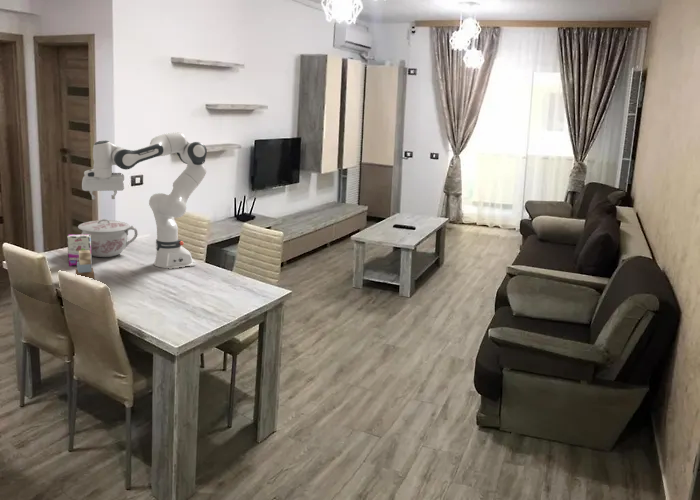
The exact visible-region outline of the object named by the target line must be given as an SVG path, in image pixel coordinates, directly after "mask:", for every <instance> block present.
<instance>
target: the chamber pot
mask: <svg viewBox="0 0 700 500" xmlns="http://www.w3.org/2000/svg"><path fill="white" fill-rule="evenodd" d="M77 228H78V229H79V230H81V234H80V235H91V254H92V256H93V257H96V258H113V257H115V256H116V257H117V256H119V255H120V254H121V253H122V252H123V250H125V249H126V247H128V246H129V245H130V244H132V243H133V242H134V241H135V240H136V239H137V238H138V235H139V234H138V229H137V228H136V227H135V226H134V225H131V226H130V224H129V223H127V222H123V221H119V220H111V219H107V218H106V219H105V218H102V219H100V220H90V221H86V222H83V223H80V224H78V226H77ZM131 230H132V231H134V235H133V237H132V238H131V239H130V240H128V235H129V231H131Z"/></svg>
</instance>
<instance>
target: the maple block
mask: <svg viewBox="0 0 700 500" xmlns="http://www.w3.org/2000/svg"><path fill="white" fill-rule="evenodd" d="M79 263H80V265H86V264H91V253H90V250H81V251H79Z"/></svg>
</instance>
